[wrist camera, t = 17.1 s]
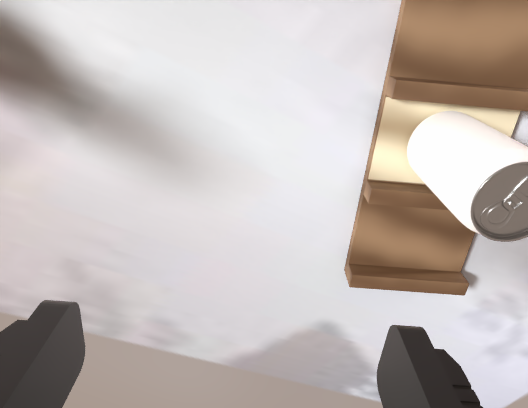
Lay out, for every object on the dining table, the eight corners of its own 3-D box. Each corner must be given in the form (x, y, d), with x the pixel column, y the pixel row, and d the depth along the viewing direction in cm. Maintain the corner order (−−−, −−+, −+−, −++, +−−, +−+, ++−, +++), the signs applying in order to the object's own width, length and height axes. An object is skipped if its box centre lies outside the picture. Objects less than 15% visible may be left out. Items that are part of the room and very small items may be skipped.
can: (390, 151, 36) (442, 212, 26) (444, 93, 34) (527, 134, 23) (438, 191, 38) (507, 263, 27) (493, 138, 36) (592, 195, 25)
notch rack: (414, -56, 30) (428, -62, 28) (567, -40, 31) (596, -45, 28) (344, 269, 44) (349, 287, 41) (452, 277, 44) (464, 295, 41)
